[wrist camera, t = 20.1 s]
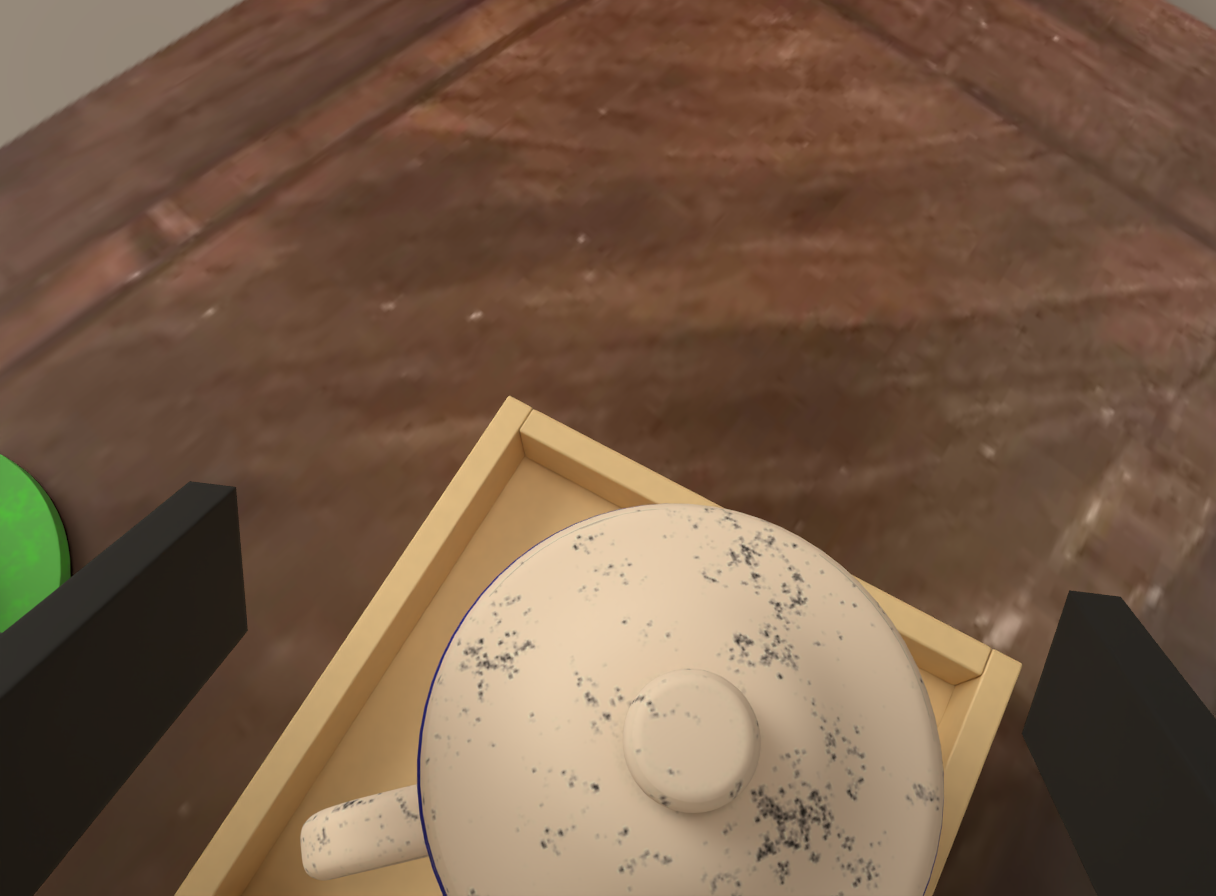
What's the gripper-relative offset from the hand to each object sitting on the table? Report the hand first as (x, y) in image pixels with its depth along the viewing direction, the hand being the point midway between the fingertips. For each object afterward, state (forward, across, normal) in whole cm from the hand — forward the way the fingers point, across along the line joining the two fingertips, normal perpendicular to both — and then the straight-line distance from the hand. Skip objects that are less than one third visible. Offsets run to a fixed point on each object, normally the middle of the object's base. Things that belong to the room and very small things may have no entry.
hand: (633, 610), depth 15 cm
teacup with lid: (+6, 0, -9) cm, 11 cm away
